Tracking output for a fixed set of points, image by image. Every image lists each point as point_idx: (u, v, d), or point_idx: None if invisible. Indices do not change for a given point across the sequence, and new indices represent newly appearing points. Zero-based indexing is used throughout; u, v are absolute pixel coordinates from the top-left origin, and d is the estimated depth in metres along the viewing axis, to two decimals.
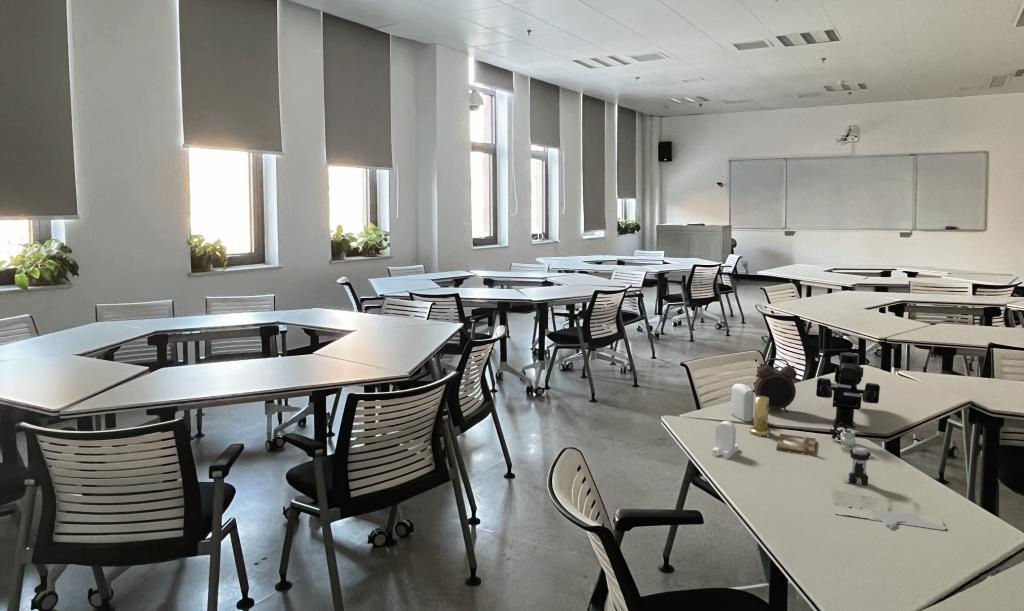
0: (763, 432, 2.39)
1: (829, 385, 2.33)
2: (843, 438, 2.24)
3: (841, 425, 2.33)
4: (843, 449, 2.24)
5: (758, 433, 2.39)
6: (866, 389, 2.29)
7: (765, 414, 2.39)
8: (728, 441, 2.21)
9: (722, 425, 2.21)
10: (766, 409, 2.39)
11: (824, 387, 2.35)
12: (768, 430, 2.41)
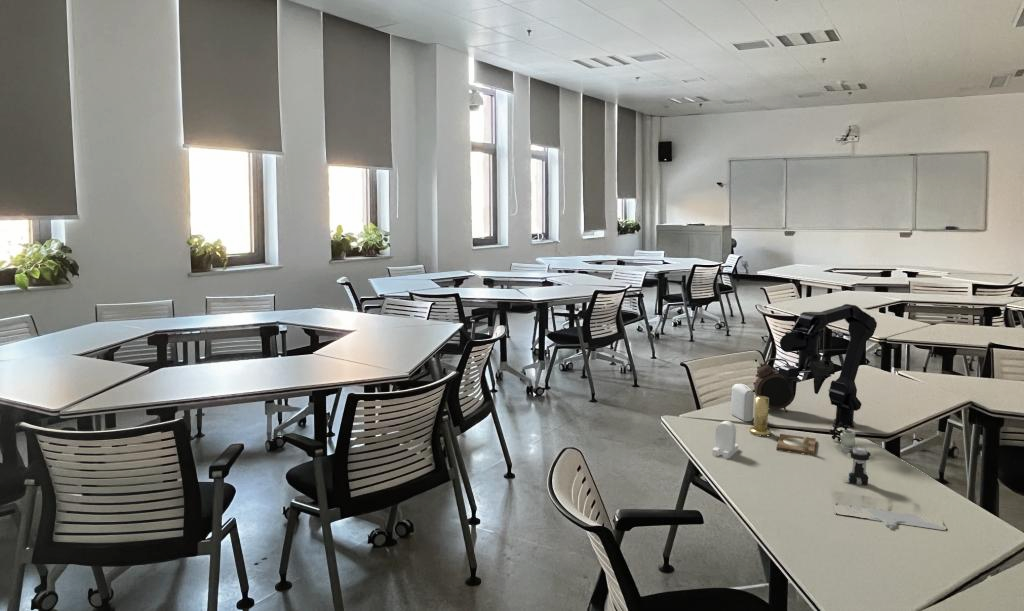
0: (763, 432, 2.39)
1: (795, 381, 2.37)
2: (843, 438, 2.23)
3: (841, 425, 2.33)
4: (843, 449, 2.24)
5: (758, 433, 2.39)
6: (823, 379, 2.41)
7: (765, 414, 2.39)
8: (728, 441, 2.21)
9: (722, 425, 2.21)
10: (766, 409, 2.39)
11: None
12: (768, 430, 2.41)
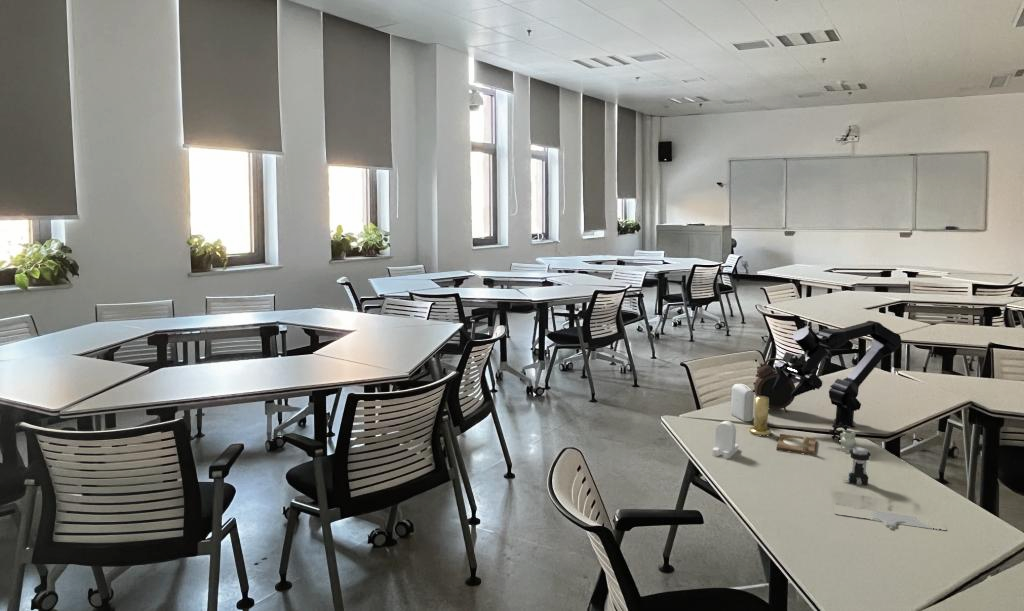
0: (763, 432, 2.39)
1: (779, 374, 2.47)
2: (843, 439, 2.23)
3: (841, 425, 2.33)
4: (843, 450, 2.23)
5: (758, 433, 2.39)
6: (800, 381, 2.37)
7: (765, 414, 2.39)
8: (728, 441, 2.21)
9: (722, 425, 2.21)
10: (766, 409, 2.39)
11: None
12: (768, 430, 2.41)
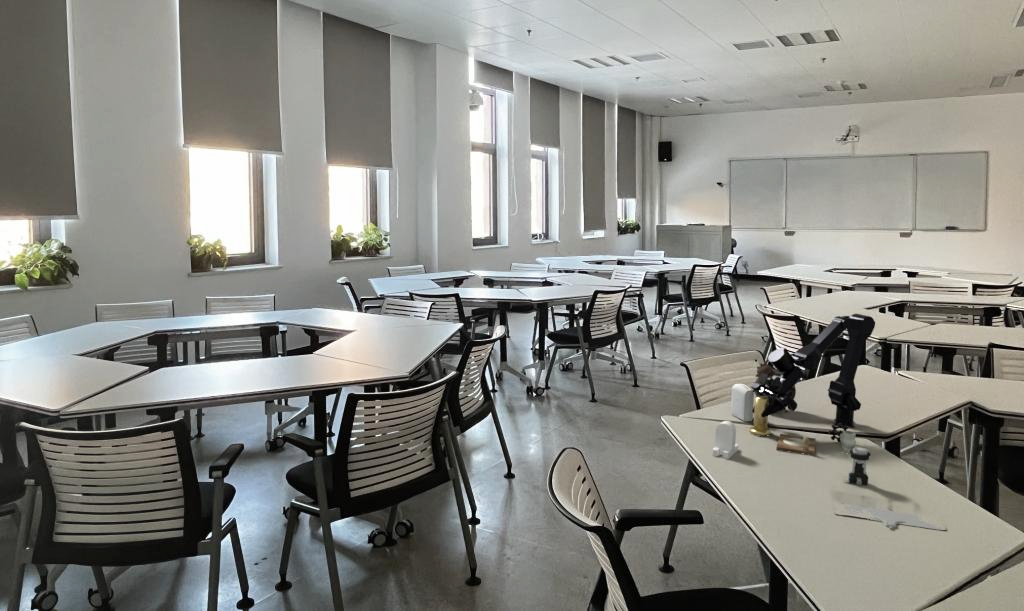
0: (763, 432, 2.39)
1: None
2: (844, 439, 2.23)
3: (840, 426, 2.32)
4: (844, 450, 2.23)
5: (758, 433, 2.39)
6: (771, 402, 2.37)
7: None
8: (728, 441, 2.21)
9: (722, 425, 2.21)
10: None
11: None
12: (768, 430, 2.41)
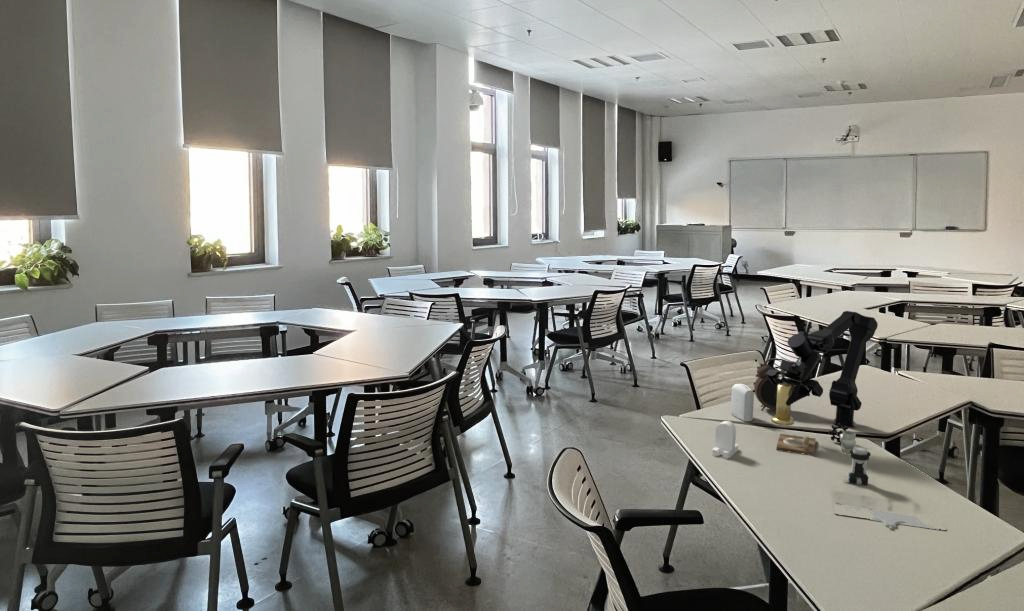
0: (788, 421, 2.30)
1: None
2: (844, 440, 2.22)
3: (840, 426, 2.32)
4: (844, 451, 2.23)
5: (784, 422, 2.29)
6: (795, 389, 2.29)
7: None
8: (728, 441, 2.21)
9: (722, 425, 2.21)
10: None
11: None
12: (791, 418, 2.32)
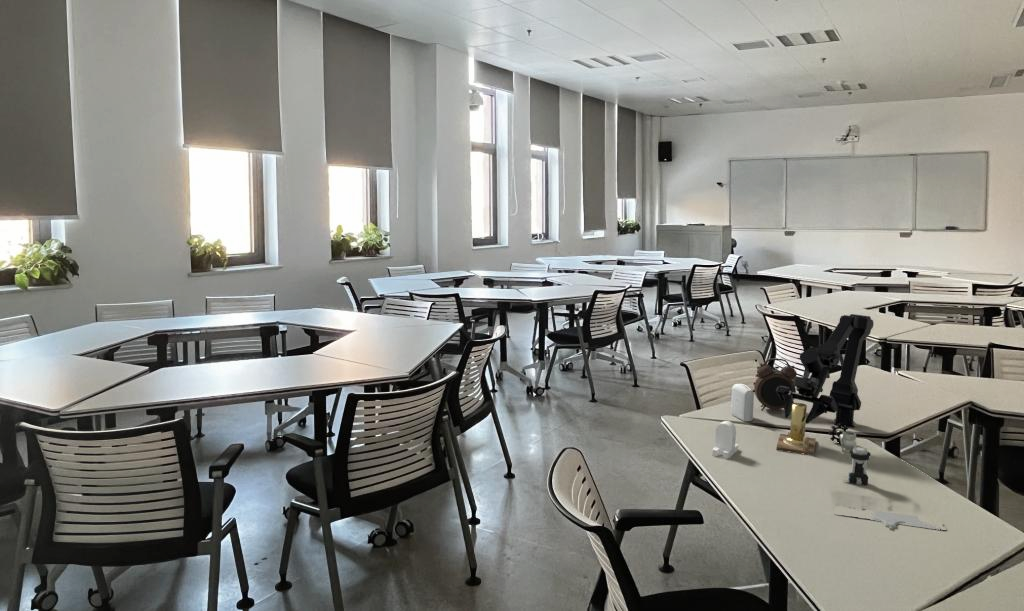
0: None
1: (788, 400, 2.32)
2: (844, 440, 2.22)
3: (840, 427, 2.31)
4: (844, 451, 2.22)
5: (800, 443, 2.26)
6: (813, 406, 2.25)
7: (805, 422, 2.27)
8: (728, 441, 2.21)
9: (722, 425, 2.21)
10: (805, 416, 2.27)
11: None
12: None
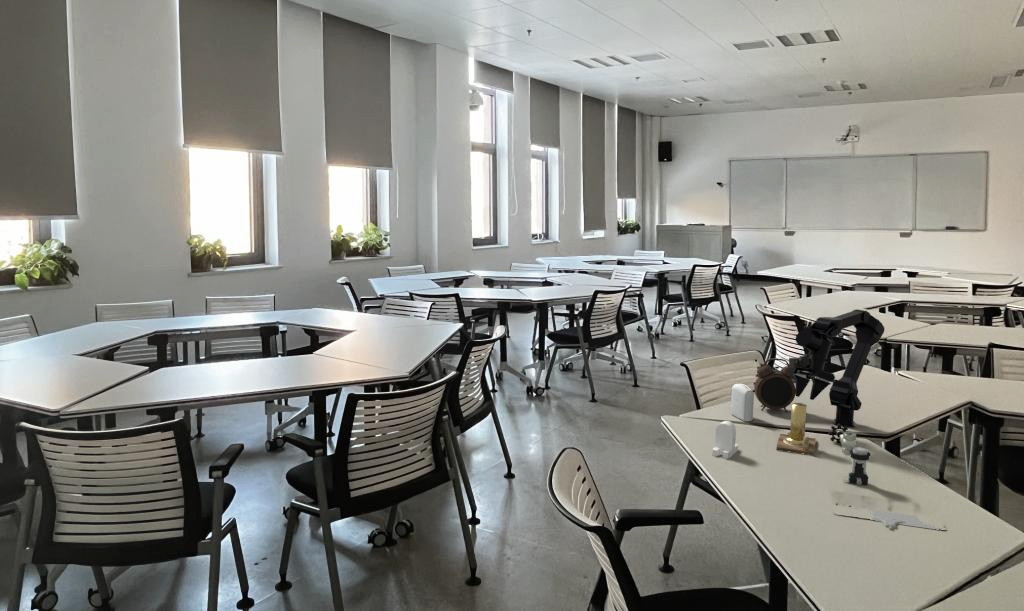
0: None
1: (796, 379, 2.43)
2: (844, 440, 2.22)
3: (840, 427, 2.31)
4: (844, 452, 2.22)
5: (800, 443, 2.26)
6: (813, 382, 2.32)
7: (805, 422, 2.27)
8: (728, 441, 2.21)
9: (722, 425, 2.21)
10: (805, 416, 2.27)
11: None
12: None
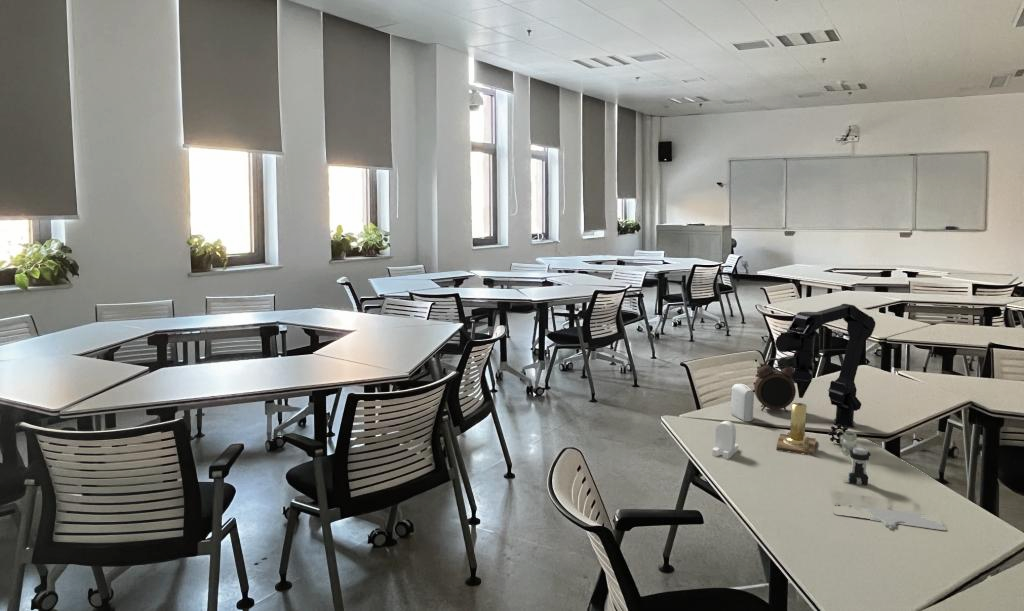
0: None
1: None
2: (845, 441, 2.21)
3: (839, 427, 2.31)
4: (845, 452, 2.22)
5: (800, 443, 2.26)
6: None
7: (805, 422, 2.27)
8: (728, 441, 2.21)
9: (722, 425, 2.21)
10: (805, 416, 2.27)
11: None
12: None
